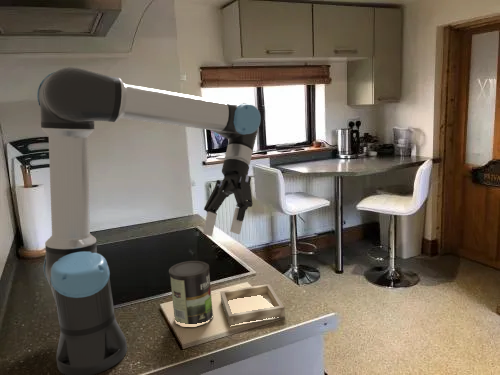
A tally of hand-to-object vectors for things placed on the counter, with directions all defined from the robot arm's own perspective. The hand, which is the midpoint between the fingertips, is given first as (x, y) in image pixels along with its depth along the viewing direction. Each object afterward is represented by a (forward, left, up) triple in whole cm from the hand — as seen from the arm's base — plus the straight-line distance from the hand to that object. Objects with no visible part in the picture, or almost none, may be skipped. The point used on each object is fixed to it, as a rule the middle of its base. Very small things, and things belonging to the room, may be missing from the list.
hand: (220, 233), depth 115 cm
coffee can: (-10, -6, -20) cm, 23 cm away
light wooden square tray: (+6, -7, -20) cm, 22 cm away
